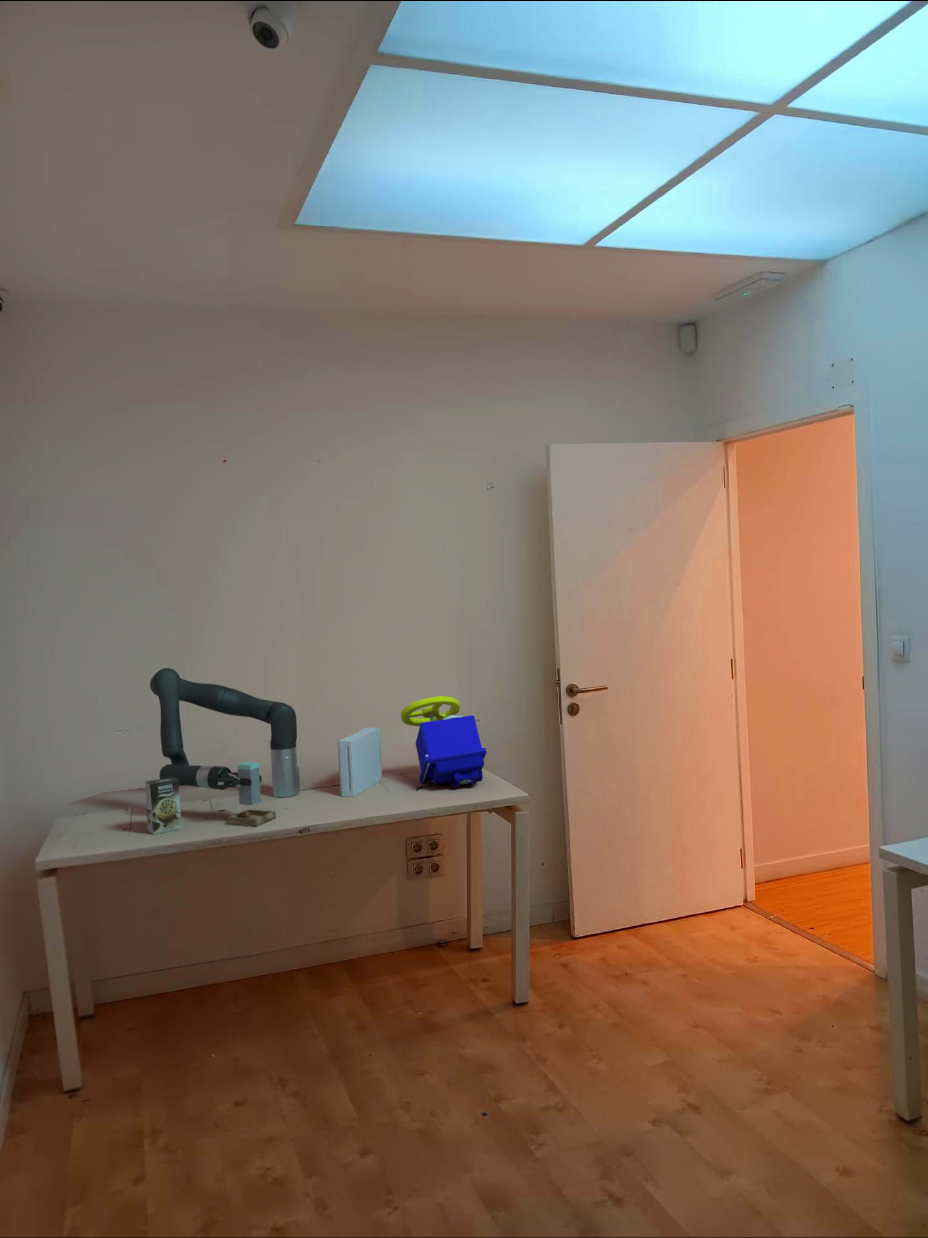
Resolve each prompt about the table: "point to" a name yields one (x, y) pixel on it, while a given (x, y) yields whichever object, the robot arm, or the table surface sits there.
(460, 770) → the valve actuator
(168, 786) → the coffee box
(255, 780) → the teal box
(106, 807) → the table surface
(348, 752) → the game console
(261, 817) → the tray
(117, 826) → the table surface
